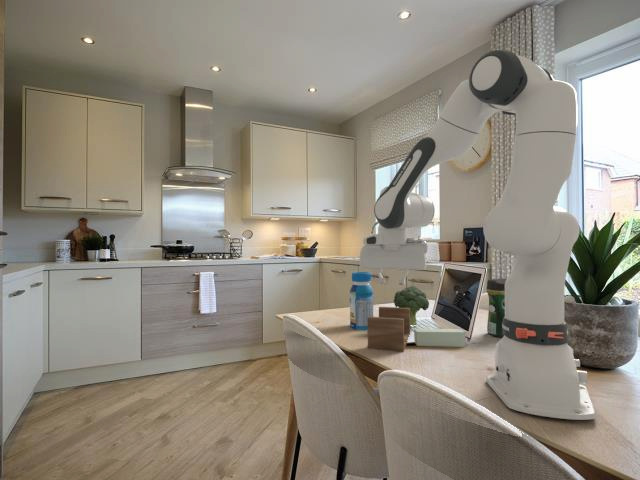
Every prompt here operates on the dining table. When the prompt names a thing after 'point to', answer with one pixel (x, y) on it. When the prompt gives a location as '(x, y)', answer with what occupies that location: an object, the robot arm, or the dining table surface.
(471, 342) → the dining table surface
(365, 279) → the beverage bottle
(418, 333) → the pale green rectangular bar
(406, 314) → the wooden napkin holder
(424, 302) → the vegetable
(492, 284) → the coffee jar
